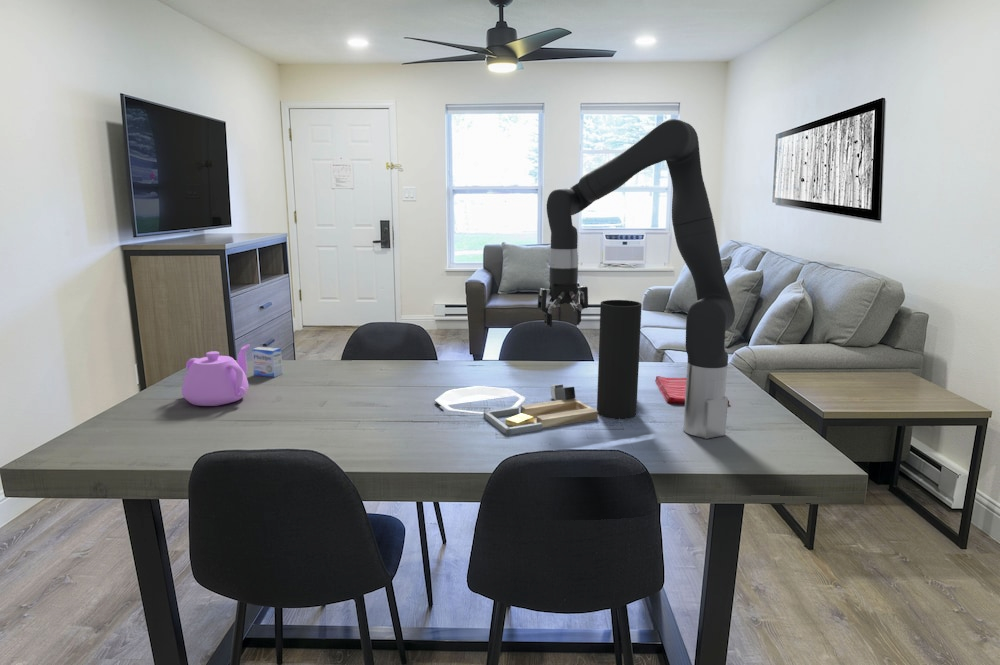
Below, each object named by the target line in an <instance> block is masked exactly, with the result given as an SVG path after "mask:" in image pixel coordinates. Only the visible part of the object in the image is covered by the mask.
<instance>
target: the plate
mask: <svg viewBox="0 0 1000 665" xmlns="http://www.w3.org/2000/svg"><path fill="white" fill-rule="evenodd" d="M509 397H517V398H518V400H517V401H516V402H515V403H514V404H513V405H512V406H511V407H510V408H513V407H518V408H519V407H520V406H521V405H522V403H524V401H525V400H526V397H525V396H523V395H522V394H519V393H517V391H514V390H512V389H511V388H506V387H493V386H486V385H485V386H483V385H475V386H474V385H473V386H468V387H467V386H466V387H461V388H454V389H449V390H446V391H445V392H444V393H442V394H441V395H439V396H438V397H436V398H435V399H434V400H435V403H436V404H438V405H439V406H440V407H442V408H443V409H445V410H446V411H448V412H458V413H465V414H466V413H467V414H475V415H484V412H485V411H474V410H465V409H457V408H452V407H451V405H457V404H465V403H471V402H481V401H485V400H493V399H494V400H495V399H500V398H501V399H502V398H509Z"/></svg>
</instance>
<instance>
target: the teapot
mask: <svg viewBox="0 0 1000 665" xmlns="http://www.w3.org/2000/svg"><path fill="white" fill-rule="evenodd" d="M250 346H251V344H250V343H248V344H245V345H243V346H242V347H240V349H239V352H238V355H237V361H236V360H235V359H234V358H233V357H232V356H229V355H220V352H219V351H215V350H214V351H213V350H212V351H208V352H205V355H206V356H204V357H199V358H197V357H191V358H189V359H188V360H187V361H186V364H185V367H186V368H185V369H186V373H185V375H184V378H183V382H182V386H181V395H182V397H183V398H184V399H185V400H186V401H187V402H189V403H190V404H192V405H193V406H201V407H218V406H222V405H227V404H231V403H235V402H237V401H239V400H241V399H242V398H244V397H245V395H246V394H247V392H248V391H249V388H250V386H249V381H248V378H247V374H248V361H247V351H248V348H249V347H250Z"/></svg>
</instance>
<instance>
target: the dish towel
mask: <svg viewBox="0 0 1000 665" xmlns="http://www.w3.org/2000/svg"><path fill="white" fill-rule="evenodd" d="M686 378H687V377H664V376H661V375H659V376H658V375H656V377H655V381H654V382H655V383H656V386H657V388H658V390H659V391H660V393H661V395H662V396H663V398H664V400H665V401H666V403H667V404H669V405H670V404H671V405H675V404H676V405H685V393H686ZM728 405H730V401H729V399H728Z"/></svg>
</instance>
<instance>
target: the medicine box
mask: <svg viewBox="0 0 1000 665" xmlns="http://www.w3.org/2000/svg"><path fill="white" fill-rule="evenodd" d="M251 353H252V354H251V356H252V366H253V367H252V368H253V371H252V372H253V375H254V376H256V377H266V378H267V377H268V378H277V377H279V376H280V375H283V362H282V361H283V360H282V358H283V357H282V349H281V348H279V347H269V346H268V347H266V346H258V347H255V348H253V349H252V350H251Z"/></svg>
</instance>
